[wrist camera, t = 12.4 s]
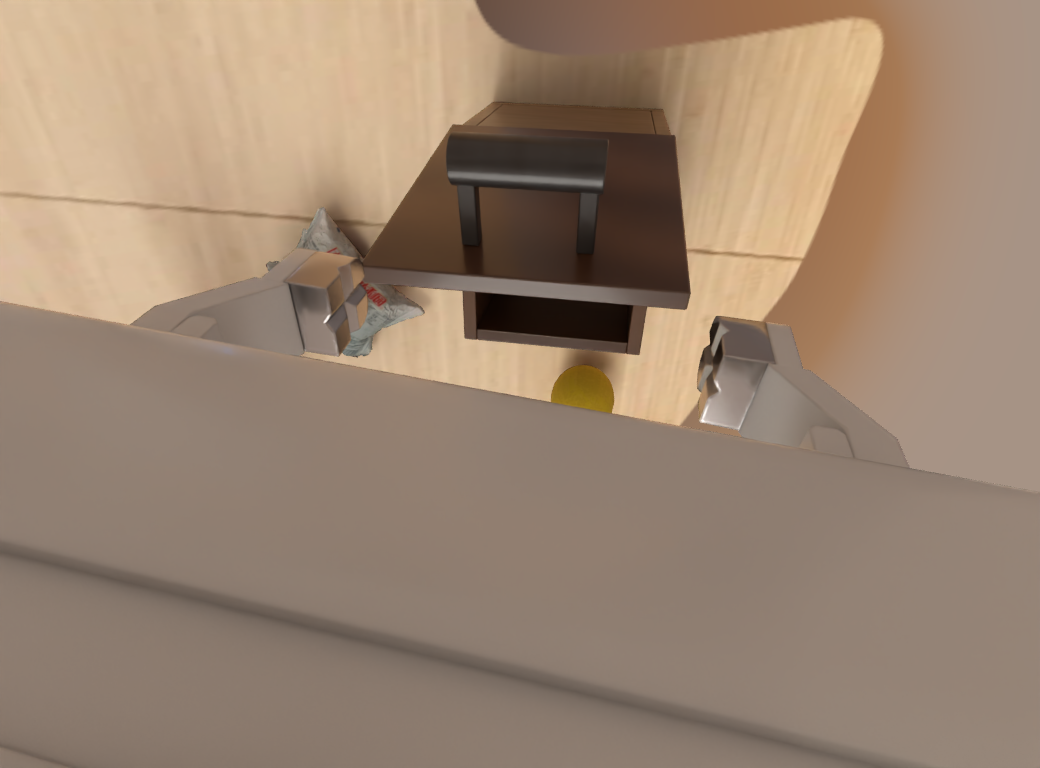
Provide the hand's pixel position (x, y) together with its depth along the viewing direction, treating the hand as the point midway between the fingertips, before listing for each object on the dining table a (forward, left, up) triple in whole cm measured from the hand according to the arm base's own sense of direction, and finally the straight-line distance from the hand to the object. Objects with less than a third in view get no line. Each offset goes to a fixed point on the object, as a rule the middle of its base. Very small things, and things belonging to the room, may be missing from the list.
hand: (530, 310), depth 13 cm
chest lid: (+2, -1, -15) cm, 15 cm away
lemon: (+23, +1, -33) cm, 41 cm away
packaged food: (+15, -20, -33) cm, 42 cm away
